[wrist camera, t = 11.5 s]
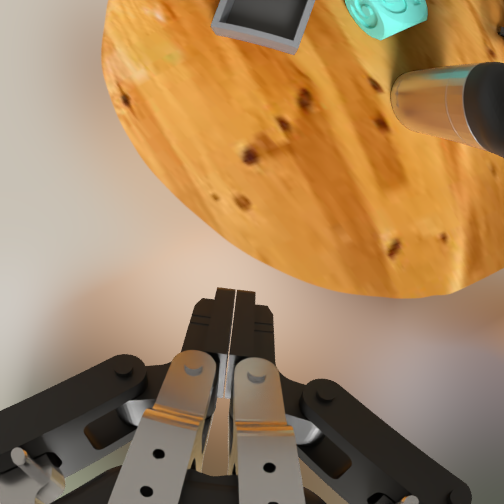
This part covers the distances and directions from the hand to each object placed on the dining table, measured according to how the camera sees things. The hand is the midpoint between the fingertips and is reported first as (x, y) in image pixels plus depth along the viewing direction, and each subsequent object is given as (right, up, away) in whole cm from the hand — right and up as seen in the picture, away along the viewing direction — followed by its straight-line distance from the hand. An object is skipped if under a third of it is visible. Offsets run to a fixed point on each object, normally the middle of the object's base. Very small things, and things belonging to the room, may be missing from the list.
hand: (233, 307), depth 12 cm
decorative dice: (+18, +35, +17) cm, 43 cm away
